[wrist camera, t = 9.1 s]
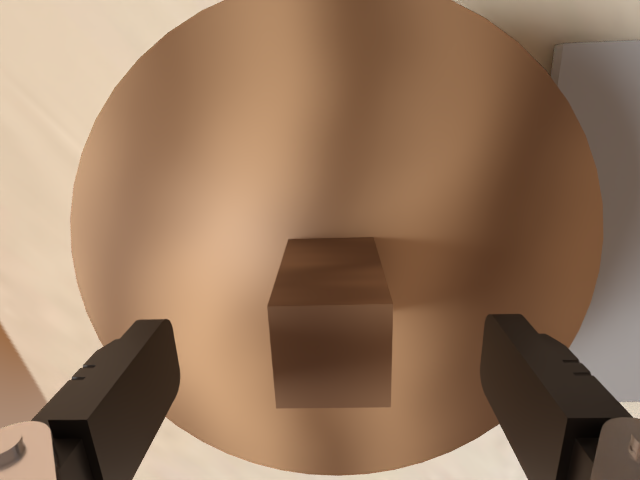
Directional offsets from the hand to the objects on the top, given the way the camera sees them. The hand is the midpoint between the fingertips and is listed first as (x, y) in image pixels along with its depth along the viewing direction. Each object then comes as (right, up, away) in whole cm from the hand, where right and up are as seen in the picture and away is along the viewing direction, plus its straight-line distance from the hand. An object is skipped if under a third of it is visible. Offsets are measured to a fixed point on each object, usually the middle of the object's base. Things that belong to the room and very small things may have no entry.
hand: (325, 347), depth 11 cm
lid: (0, +2, +5) cm, 6 cm away
